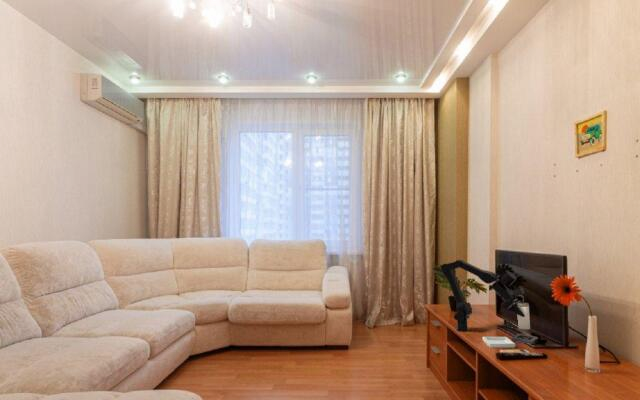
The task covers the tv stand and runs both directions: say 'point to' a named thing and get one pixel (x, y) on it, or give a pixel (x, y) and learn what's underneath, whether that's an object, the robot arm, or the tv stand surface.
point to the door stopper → (509, 324)
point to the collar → (523, 341)
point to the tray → (498, 342)
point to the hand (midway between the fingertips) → (526, 315)
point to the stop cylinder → (524, 321)
